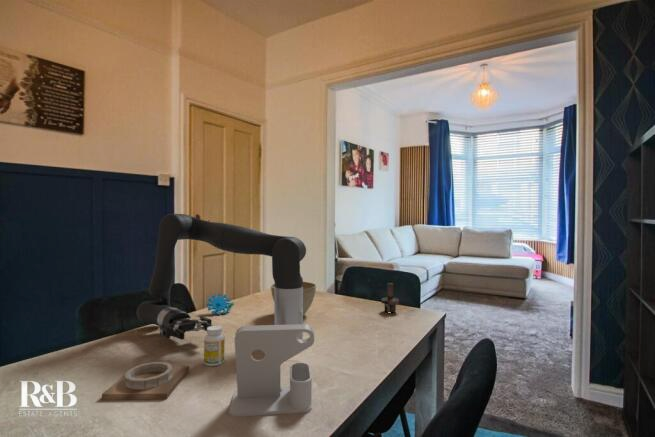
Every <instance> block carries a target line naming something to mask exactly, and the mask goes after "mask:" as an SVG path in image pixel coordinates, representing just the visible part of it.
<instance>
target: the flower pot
mask: <svg viewBox="0 0 655 437" xmlns="http://www.w3.org/2000/svg"><path fill="white" fill-rule="evenodd" d="M316 289H317V285H316V284H315V283H314V282H313V283H312V282H308V281H303V316H305V314H306V313H307V312H308V310H309V309H310V307H311V306H312V303H313V302H314V299H315V296H316ZM270 292H271V295H272V296H271V297H272V299H273V302H274V301H275V283H273V284H271V285H270Z"/></svg>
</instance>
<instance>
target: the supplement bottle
mask: <svg viewBox="0 0 655 437" xmlns="http://www.w3.org/2000/svg"><path fill="white" fill-rule="evenodd" d="M225 338H226V337H225V335H224V334H223V327H222V325H213V326H210V327H208V328H207V331H206V335H205V336H204V338H203V363H204V365H205V366H207V367H218V366H220V365H222V364H223V363H224V361H225Z"/></svg>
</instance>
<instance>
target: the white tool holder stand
mask: <svg viewBox="0 0 655 437" xmlns="http://www.w3.org/2000/svg"><path fill="white" fill-rule="evenodd" d="M301 332H303V333H306V334H308V335H309V337H308V338H305V339H302V340H300V339H298V338H297V335H298V334H299V333H301ZM314 332H315V330H314V328H313V326H311V325H309V324H306V323H303V324H295V325H274V324H269V325H268V324H262V325H243V326H240V327H239V328H237V329H236V331H235V335H234V353H235V356H234V357H235V371H236V372H235V373H236V390H234V392H233V396H232V399H231V403H230V407H229V409H228V413H229V416H230V417H249V416H250V417H251V416H268V415H270V416H271V415H283V414H284V415H285V414H301V413H304V414H305V413H309V412H311V411H312V408H313V404H312V401H313V400H312V395H313V394H312V393H313V392H312V391H313V390H312V389H313V388H312V387H313V384H312V383H313V379H312V372H311V367H310V366H311V365H309V364H307V363H305V362H297V363H293V364H291V365H290V367H289V386H281V367H282V365H283V364H284V363H285V362H287V361H289V360H290V359H292V358H293V357H296V356H297V355H299V354H300V353H302V352H303V351H305V350H307V349H309V348H310V347H312V346H313V345H314V343H315V333H314ZM255 351H262V352H263V353H264V356H263V358H261V359H255V358H254V356H252V353H254V352H255Z"/></svg>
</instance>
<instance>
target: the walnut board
mask: <svg viewBox="0 0 655 437" xmlns="http://www.w3.org/2000/svg"><path fill="white" fill-rule="evenodd" d="M189 372H190V365H173V364H172V363H169V362H166V361H151V362H146V363H141V364H139V365H136V366H133V367H131V368H129V369H128V370H127V371H126V372H125V374H124V375H123V376H121V377H120V378H119V379H118V380H117V381H115V383H113V384H112V385H111V386H110V387H108V389H105V391H104V392H103V393H102V394H101V400H102V401H103V400H104V401H107V400H108V401H109V400H167V399H168V398H169V397H170V396H171V394H172V393H173V391H175V389H176V388H177V387H178V386H179V384H180V383H181V382H182V381H183V379H184V378H185V377H186V376H187V375H188V374H189Z"/></svg>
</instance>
